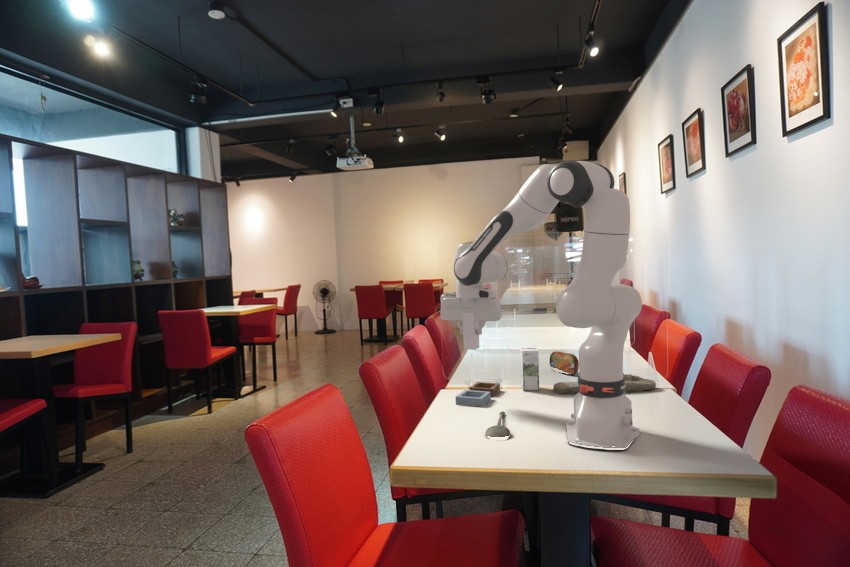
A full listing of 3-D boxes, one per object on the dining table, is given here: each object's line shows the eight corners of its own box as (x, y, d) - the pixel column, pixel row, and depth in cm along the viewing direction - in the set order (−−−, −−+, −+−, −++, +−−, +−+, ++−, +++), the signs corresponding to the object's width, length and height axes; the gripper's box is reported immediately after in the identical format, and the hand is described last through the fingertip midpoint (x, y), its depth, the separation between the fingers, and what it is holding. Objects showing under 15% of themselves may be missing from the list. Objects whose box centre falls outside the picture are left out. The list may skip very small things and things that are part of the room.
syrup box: (537, 386, 187) (536, 346, 186) (539, 391, 181) (538, 349, 180) (521, 387, 188) (520, 347, 187) (523, 391, 182) (521, 350, 181)
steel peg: (475, 349, 168) (474, 312, 167) (463, 349, 169) (462, 312, 169) (479, 347, 171) (478, 311, 171) (467, 347, 173) (466, 311, 172)
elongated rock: (550, 392, 184) (557, 402, 174) (549, 378, 184) (556, 387, 174) (648, 383, 184) (661, 392, 174) (647, 369, 183) (660, 377, 174)
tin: (549, 370, 213) (548, 349, 213) (555, 369, 214) (554, 349, 214) (574, 377, 199) (573, 355, 199) (580, 376, 201) (580, 354, 200)
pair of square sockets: (482, 406, 165) (481, 398, 165) (455, 404, 169) (455, 396, 169) (500, 390, 184) (500, 383, 184) (476, 388, 188) (476, 381, 188)
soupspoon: (483, 444, 135) (509, 446, 134) (483, 431, 135) (509, 434, 133) (492, 415, 157) (514, 417, 155) (492, 404, 156) (514, 406, 155)
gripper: (436, 293, 171) (438, 334, 172) (496, 292, 162) (498, 336, 163) (443, 291, 177) (445, 332, 177) (502, 291, 168) (503, 333, 169)
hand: (471, 334), depth 170 cm, fingers closed on steel peg, 4 cm apart
